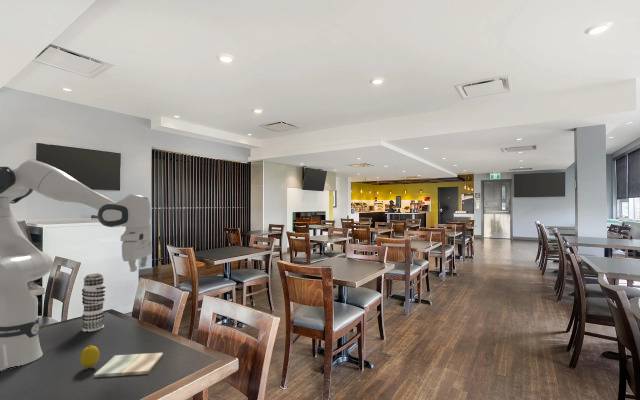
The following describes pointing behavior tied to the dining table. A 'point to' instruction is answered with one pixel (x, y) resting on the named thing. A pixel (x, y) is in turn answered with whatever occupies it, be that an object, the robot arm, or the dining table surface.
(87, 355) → the lemon
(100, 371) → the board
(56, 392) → the dining table surface
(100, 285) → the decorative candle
